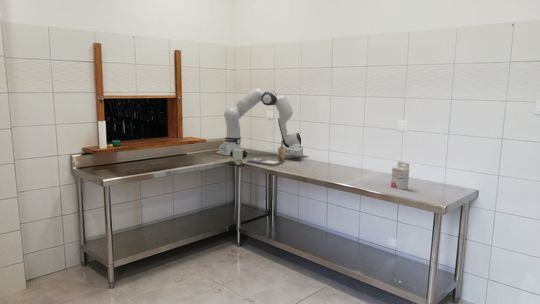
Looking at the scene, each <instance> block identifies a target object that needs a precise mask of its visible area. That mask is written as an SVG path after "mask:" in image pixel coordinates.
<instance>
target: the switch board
mask: <svg viewBox="0 0 540 304" xmlns="http://www.w3.org/2000/svg"><path fill="white" fill-rule="evenodd" d="M246 162H247V163H251V164H255V165H256V164H257V165H264V166H268V167H270V166H271V167H275V166H280V165H283V164H284V162H279V161H278V160H272V159H266V158H265V159H264V158H256V157H255V158H252V159H247V160H246Z"/></svg>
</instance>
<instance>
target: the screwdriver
mask: <svg viewBox="0 0 540 304" xmlns="http://www.w3.org/2000/svg"><path fill="white" fill-rule="evenodd" d="M278 148H279V151H278V150H277V155H278V159H277V161H279V162H283V163H285V162H286V153H285V146H284V145H283V141H282V140H281V143H280V146H278Z"/></svg>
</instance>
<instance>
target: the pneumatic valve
mask: <svg viewBox="0 0 540 304" xmlns="http://www.w3.org/2000/svg"><path fill="white" fill-rule="evenodd" d="M229 157H231V159H235V161H234V165H235V166H241V165H243V160H246V158H248V152H247V150H246V149H241V150H240V149H239V148H238V149H233V150H232V151H231V152H230V155H229Z"/></svg>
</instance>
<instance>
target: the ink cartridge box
mask: <svg viewBox="0 0 540 304" xmlns="http://www.w3.org/2000/svg"><path fill="white" fill-rule="evenodd" d="M409 178H410V164H409V163H406V162H402V161H397V166H392V168H391V184H390V187H391V188H394V189H399V190H400V191H401V190H408V188H409Z"/></svg>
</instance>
